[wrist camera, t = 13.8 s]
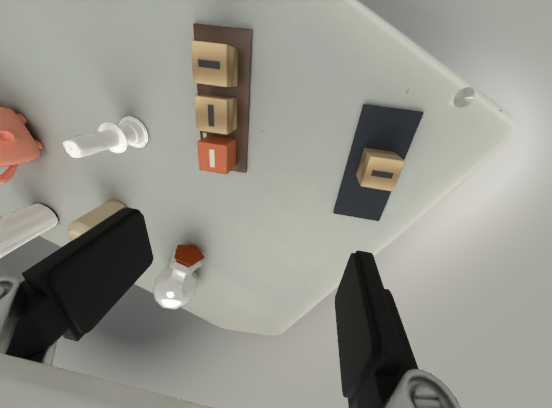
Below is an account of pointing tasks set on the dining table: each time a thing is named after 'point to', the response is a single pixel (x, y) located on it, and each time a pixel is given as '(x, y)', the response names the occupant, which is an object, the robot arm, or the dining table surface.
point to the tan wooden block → (214, 64)
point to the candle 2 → (93, 218)
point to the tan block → (379, 169)
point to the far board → (243, 43)
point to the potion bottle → (178, 278)
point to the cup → (24, 226)
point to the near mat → (382, 136)
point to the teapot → (15, 143)
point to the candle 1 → (109, 138)
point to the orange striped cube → (217, 154)
